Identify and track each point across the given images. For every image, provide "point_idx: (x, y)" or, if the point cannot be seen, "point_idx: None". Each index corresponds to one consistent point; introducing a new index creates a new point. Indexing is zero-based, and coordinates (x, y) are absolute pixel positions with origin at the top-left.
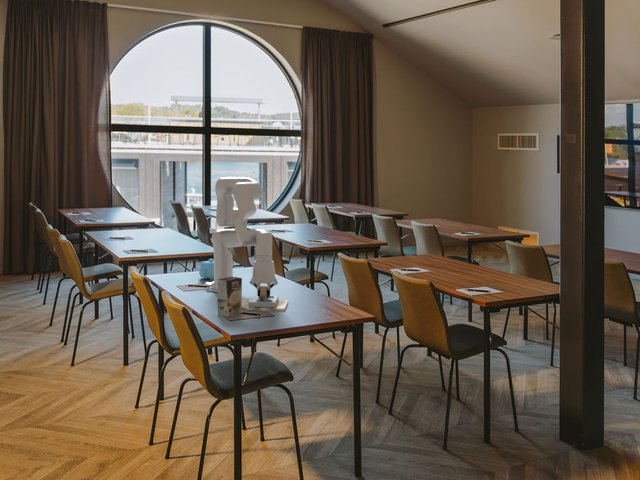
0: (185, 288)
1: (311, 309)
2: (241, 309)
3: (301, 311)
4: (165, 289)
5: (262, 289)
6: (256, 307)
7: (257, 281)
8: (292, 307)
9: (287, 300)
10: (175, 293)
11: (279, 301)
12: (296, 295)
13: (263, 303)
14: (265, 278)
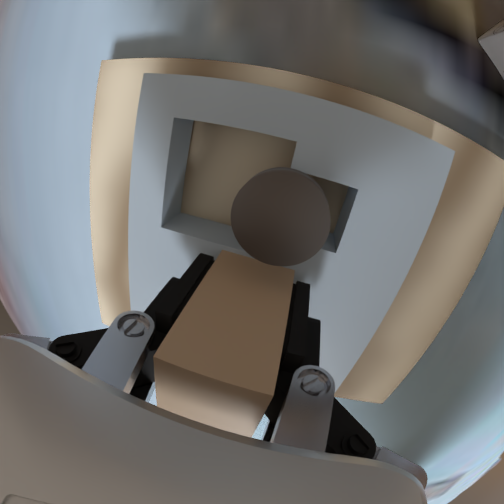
0: (440, 489)
1: (8, 139)
2: (494, 32)
3: (38, 81)
4: (481, 475)
5: (241, 346)
6: None
7: (333, 490)
8: (72, 192)
9: (104, 322)
10: (494, 458)
11: None
12: None
13: (275, 88)
14: (64, 493)
